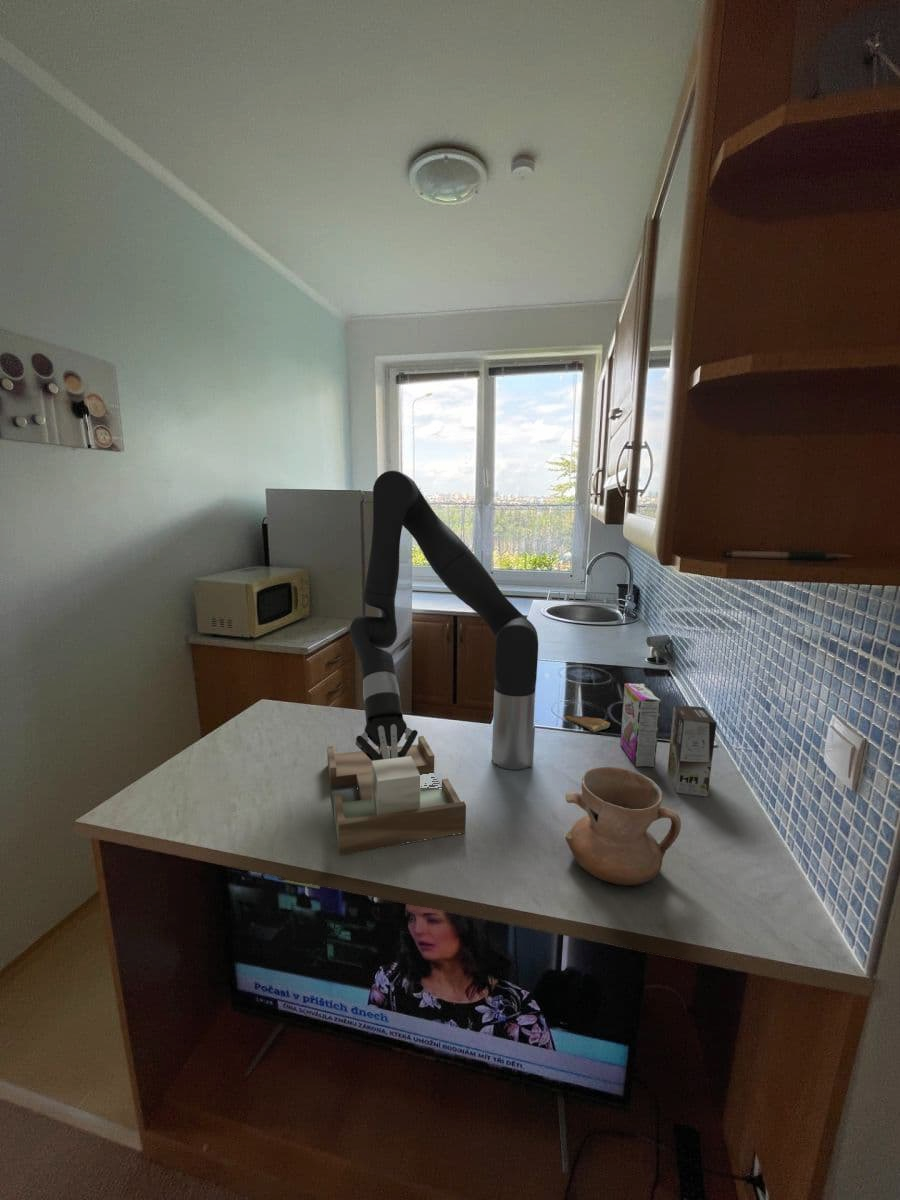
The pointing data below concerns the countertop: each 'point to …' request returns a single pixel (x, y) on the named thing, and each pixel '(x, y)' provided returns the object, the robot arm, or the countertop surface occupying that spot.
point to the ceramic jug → (619, 826)
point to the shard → (589, 722)
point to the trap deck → (374, 831)
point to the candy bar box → (640, 724)
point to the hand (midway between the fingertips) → (392, 781)
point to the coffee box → (691, 750)
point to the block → (395, 785)
